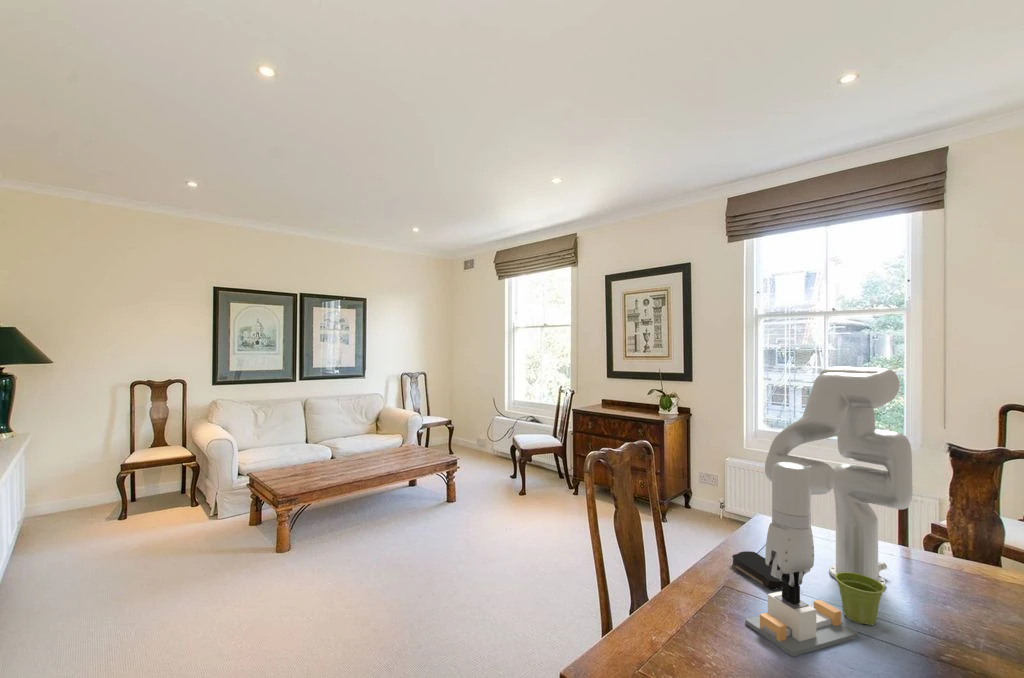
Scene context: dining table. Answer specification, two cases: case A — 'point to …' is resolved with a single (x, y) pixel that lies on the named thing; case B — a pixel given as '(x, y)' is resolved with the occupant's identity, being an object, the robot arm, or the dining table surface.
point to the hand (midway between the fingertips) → (790, 600)
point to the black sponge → (756, 569)
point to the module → (793, 616)
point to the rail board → (826, 635)
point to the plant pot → (859, 596)
